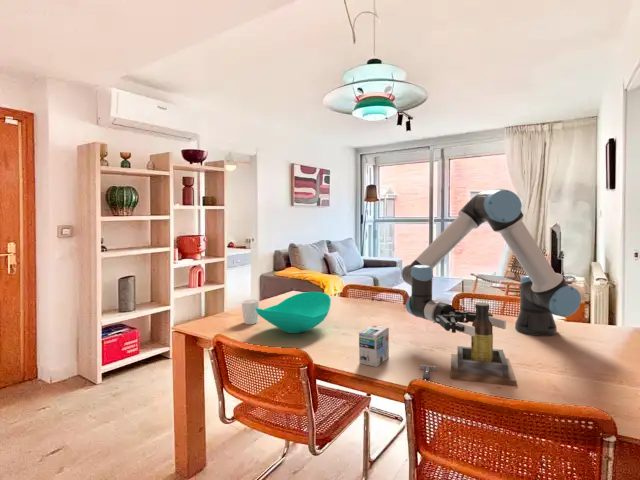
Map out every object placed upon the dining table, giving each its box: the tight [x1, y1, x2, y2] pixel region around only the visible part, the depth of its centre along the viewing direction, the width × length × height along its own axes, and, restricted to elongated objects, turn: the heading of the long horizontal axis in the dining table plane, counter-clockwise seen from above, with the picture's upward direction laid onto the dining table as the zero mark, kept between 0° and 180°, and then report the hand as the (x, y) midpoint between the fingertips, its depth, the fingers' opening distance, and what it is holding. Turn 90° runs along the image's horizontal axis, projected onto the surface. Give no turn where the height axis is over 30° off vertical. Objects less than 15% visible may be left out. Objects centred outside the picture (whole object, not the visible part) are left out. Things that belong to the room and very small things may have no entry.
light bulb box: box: [358, 324, 390, 368], centre depth 138 cm, size 11×7×11 cm, turn 148°
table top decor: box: [256, 291, 332, 334], centre depth 174 cm, size 40×28×13 cm
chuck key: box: [419, 364, 437, 381], centre depth 126 cm, size 9×5×2 cm, turn 162°
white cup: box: [241, 299, 260, 325], centre depth 189 cm, size 8×8×10 cm
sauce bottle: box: [470, 302, 494, 362], centre depth 127 cm, size 6×6×20 cm
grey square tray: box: [450, 345, 518, 387], centre depth 128 cm, size 18×18×5 cm
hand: (490, 328), depth 124 cm, fingers open, 13 cm apart
